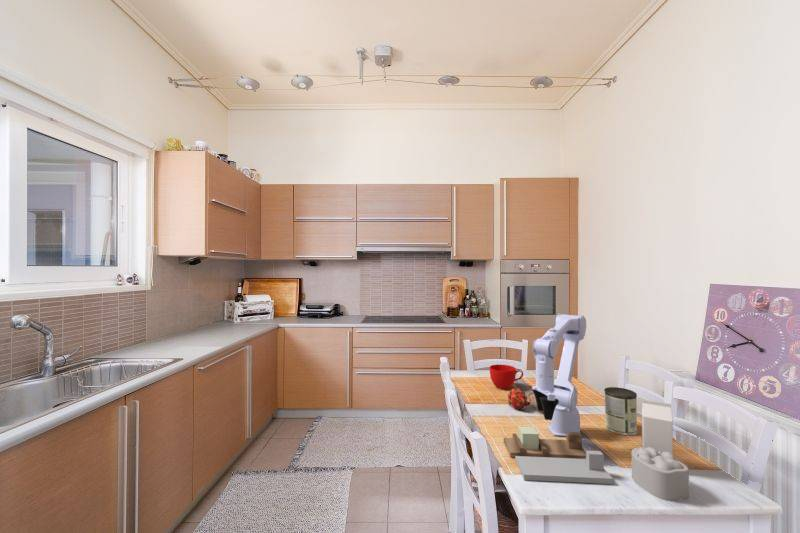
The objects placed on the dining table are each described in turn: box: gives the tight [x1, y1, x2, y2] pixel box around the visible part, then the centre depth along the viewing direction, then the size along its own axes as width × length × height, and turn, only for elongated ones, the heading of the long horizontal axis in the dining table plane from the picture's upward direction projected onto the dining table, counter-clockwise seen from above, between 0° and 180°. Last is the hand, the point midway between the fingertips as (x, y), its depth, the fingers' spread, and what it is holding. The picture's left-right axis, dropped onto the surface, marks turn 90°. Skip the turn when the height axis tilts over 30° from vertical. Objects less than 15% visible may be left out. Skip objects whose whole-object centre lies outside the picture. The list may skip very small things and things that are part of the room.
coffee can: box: [603, 386, 638, 436], centre depth 131 cm, size 10×10×14 cm
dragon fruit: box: [507, 388, 531, 411], centre depth 151 cm, size 8×8×12 cm
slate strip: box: [514, 450, 614, 485], centre depth 102 cm, size 24×10×6 cm, turn 85°
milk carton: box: [641, 398, 674, 456], centre depth 107 cm, size 7×7×19 cm
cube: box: [518, 426, 540, 450], centre depth 115 cm, size 5×5×5 cm
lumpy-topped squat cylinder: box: [631, 446, 690, 502], centre depth 96 cm, size 10×13×9 cm
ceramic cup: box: [489, 364, 524, 390], centre depth 178 cm, size 13×17×10 cm
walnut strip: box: [503, 432, 586, 459], centre depth 114 cm, size 24×10×6 cm, turn 85°
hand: (544, 414), depth 118 cm, fingers open, 7 cm apart
